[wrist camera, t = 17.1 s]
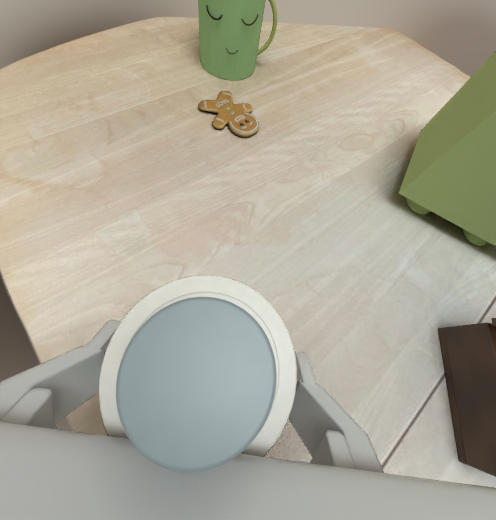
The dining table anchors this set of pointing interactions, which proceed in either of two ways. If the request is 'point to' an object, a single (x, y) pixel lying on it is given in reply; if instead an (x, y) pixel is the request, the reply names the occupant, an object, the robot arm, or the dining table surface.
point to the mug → (232, 36)
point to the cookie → (231, 114)
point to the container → (459, 160)
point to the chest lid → (493, 321)
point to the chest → (472, 391)
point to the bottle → (199, 374)
